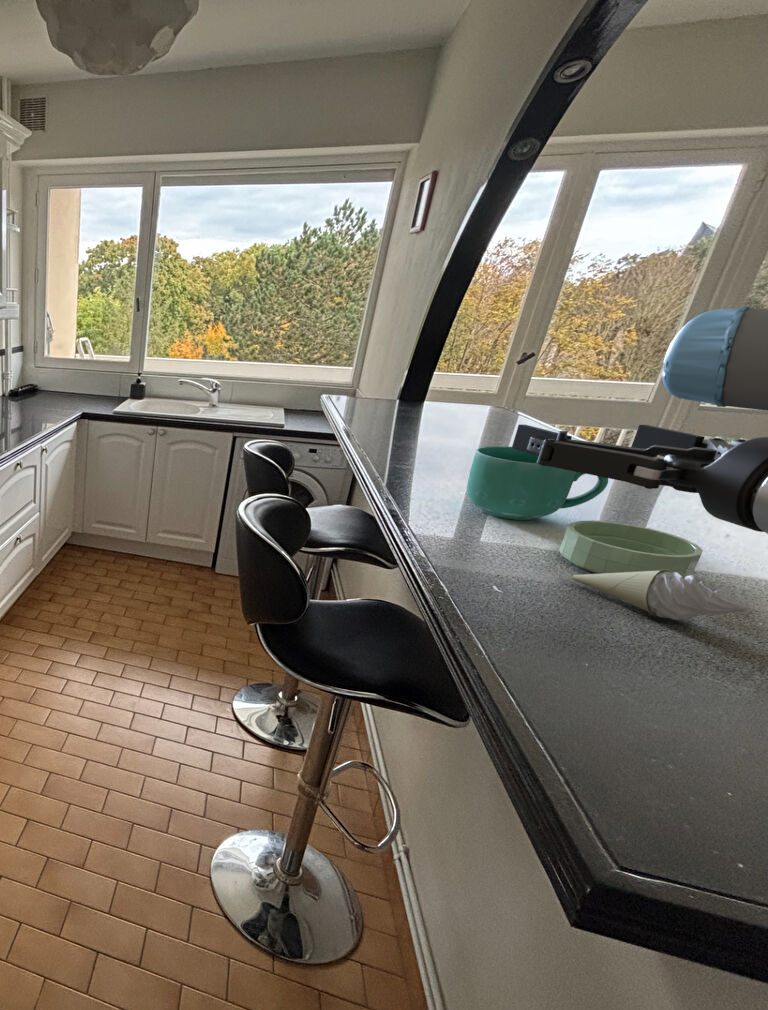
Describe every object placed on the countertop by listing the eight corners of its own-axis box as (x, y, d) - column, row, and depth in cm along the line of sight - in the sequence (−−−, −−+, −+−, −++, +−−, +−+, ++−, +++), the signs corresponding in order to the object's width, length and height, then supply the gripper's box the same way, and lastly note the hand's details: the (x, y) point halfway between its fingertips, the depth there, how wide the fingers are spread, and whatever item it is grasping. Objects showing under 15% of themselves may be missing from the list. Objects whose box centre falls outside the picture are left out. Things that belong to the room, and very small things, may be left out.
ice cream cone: (553, 577, 69) (735, 609, 55) (578, 547, 69) (764, 572, 55) (567, 606, 70) (747, 645, 56) (591, 577, 71) (776, 608, 57)
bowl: (670, 560, 76) (683, 531, 75) (704, 597, 67) (719, 565, 65) (551, 541, 82) (561, 514, 81) (567, 573, 73) (578, 543, 71)
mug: (456, 515, 92) (473, 456, 89) (463, 496, 102) (479, 442, 98) (595, 539, 83) (619, 474, 80) (589, 516, 92) (611, 457, 89)
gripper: (622, 534, 49) (460, 468, 69) (925, 535, 49) (675, 468, 68) (657, 445, 46) (477, 402, 66) (979, 446, 46) (702, 403, 66)
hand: (577, 436), depth 67 cm, fingers open, 13 cm apart
